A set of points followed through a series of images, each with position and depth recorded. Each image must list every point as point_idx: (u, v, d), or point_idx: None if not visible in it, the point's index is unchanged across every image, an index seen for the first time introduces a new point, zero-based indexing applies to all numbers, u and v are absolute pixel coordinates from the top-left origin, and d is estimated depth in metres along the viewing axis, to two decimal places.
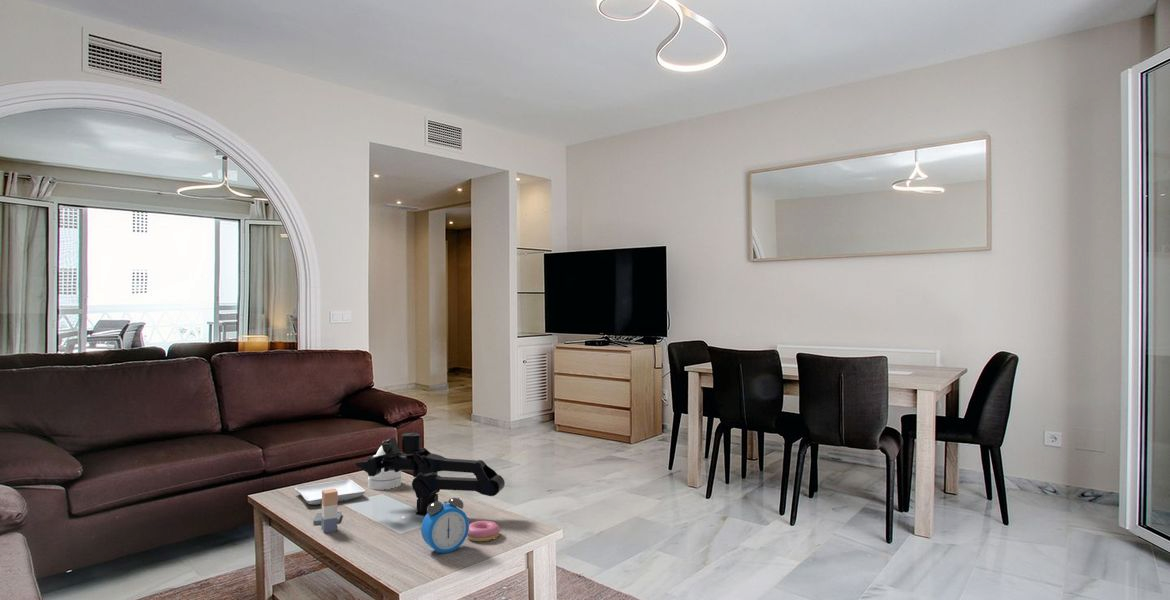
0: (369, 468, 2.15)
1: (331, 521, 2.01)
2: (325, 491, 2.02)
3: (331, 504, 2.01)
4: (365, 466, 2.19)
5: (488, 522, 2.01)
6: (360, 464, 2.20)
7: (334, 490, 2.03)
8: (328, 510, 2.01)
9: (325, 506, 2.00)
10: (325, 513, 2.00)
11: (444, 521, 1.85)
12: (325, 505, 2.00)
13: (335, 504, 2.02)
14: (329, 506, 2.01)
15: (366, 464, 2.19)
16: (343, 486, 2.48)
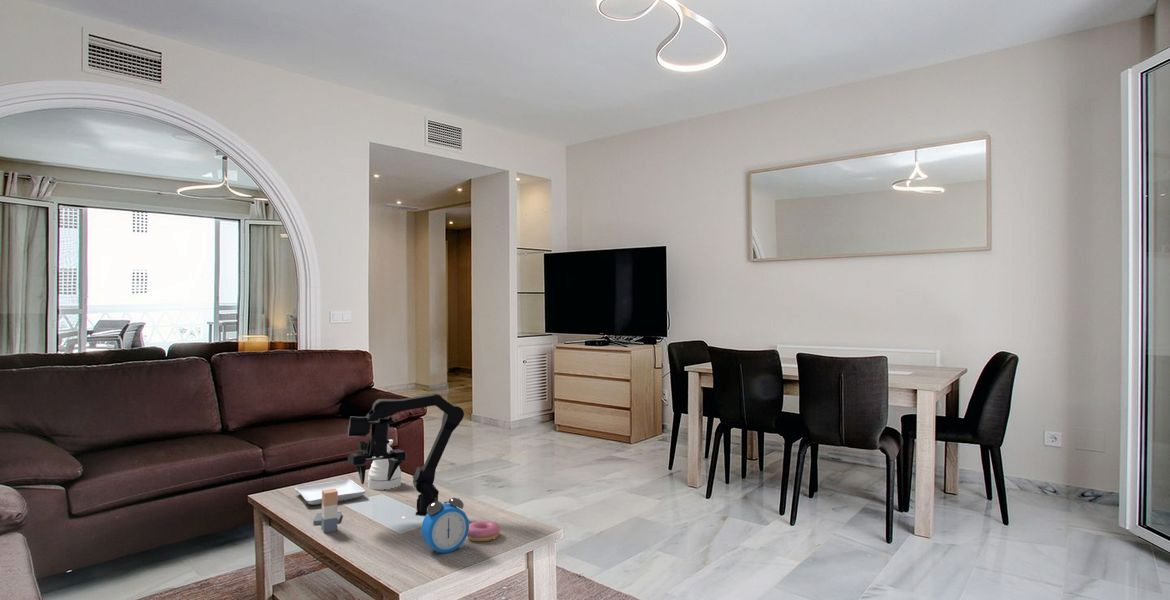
0: (350, 462, 2.07)
1: (331, 521, 2.01)
2: (325, 491, 2.02)
3: (331, 504, 2.01)
4: (360, 471, 2.10)
5: (488, 522, 2.01)
6: (360, 477, 2.10)
7: (334, 490, 2.03)
8: (328, 510, 2.01)
9: (325, 506, 2.00)
10: (325, 513, 2.00)
11: (444, 521, 1.85)
12: (325, 505, 2.00)
13: (335, 504, 2.02)
14: (329, 506, 2.01)
15: (359, 470, 2.10)
16: (343, 486, 2.48)
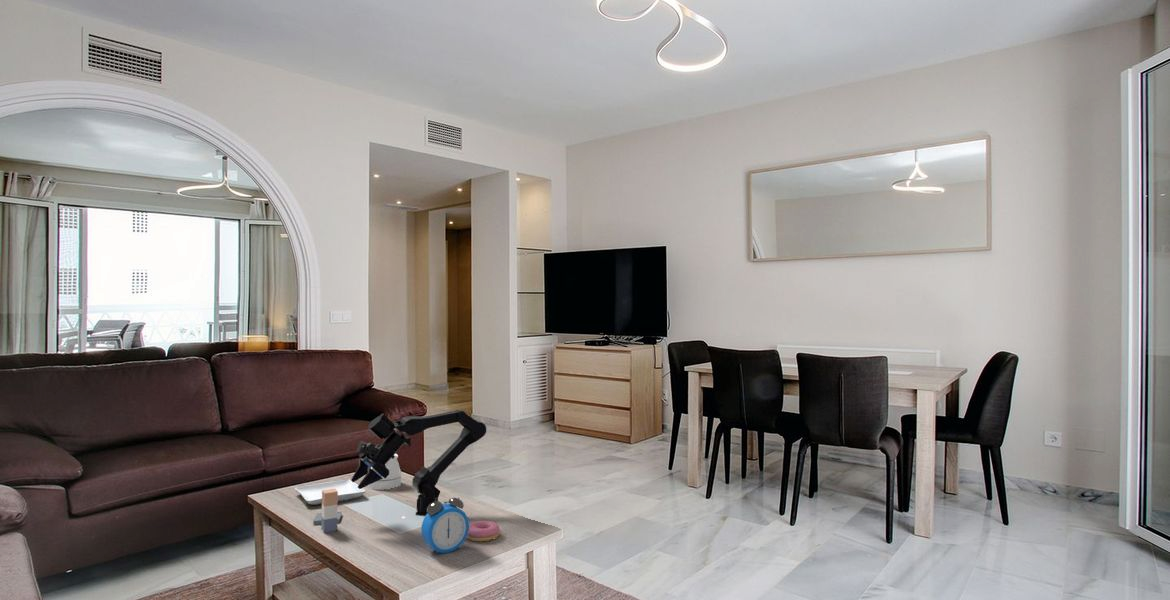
0: (380, 472, 2.03)
1: (331, 521, 2.01)
2: (325, 491, 2.02)
3: (331, 504, 2.01)
4: (370, 479, 2.04)
5: (488, 522, 2.01)
6: (363, 483, 2.03)
7: (334, 490, 2.03)
8: (328, 510, 2.01)
9: (325, 506, 2.00)
10: (325, 513, 2.00)
11: (444, 521, 1.85)
12: (325, 505, 2.00)
13: (335, 504, 2.02)
14: (329, 506, 2.01)
15: (369, 477, 2.04)
16: (343, 486, 2.48)
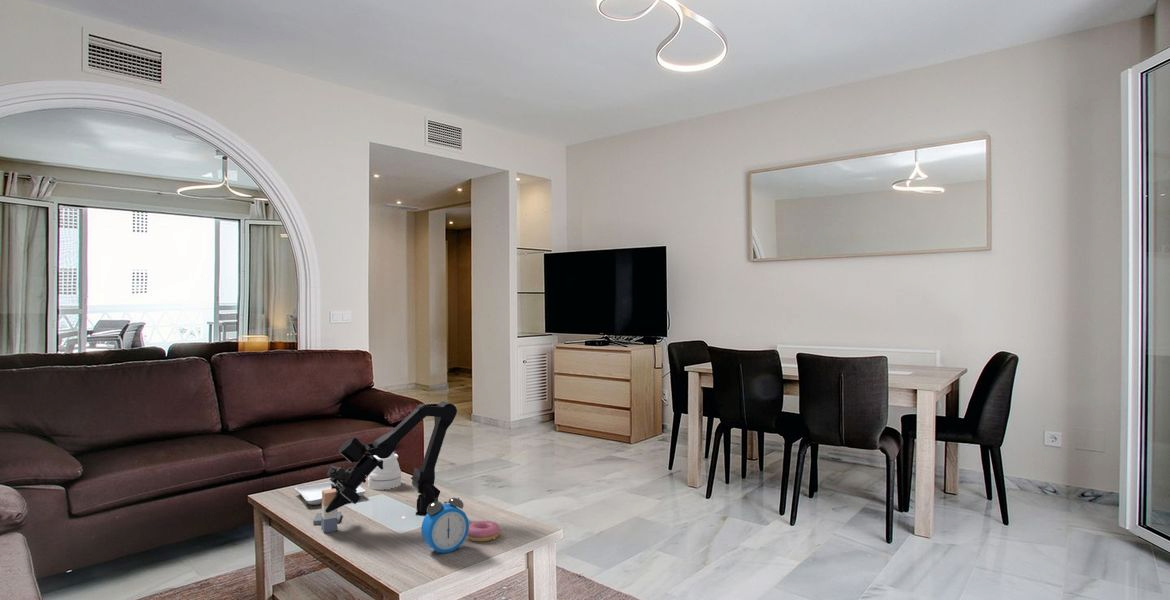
0: (350, 498, 1.97)
1: (331, 521, 2.01)
2: (325, 491, 2.02)
3: None
4: (338, 502, 2.01)
5: (488, 522, 2.01)
6: (331, 507, 2.00)
7: (334, 490, 2.03)
8: None
9: (325, 506, 2.00)
10: (325, 513, 2.00)
11: (444, 521, 1.85)
12: (325, 505, 2.00)
13: None
14: None
15: (337, 500, 2.01)
16: None
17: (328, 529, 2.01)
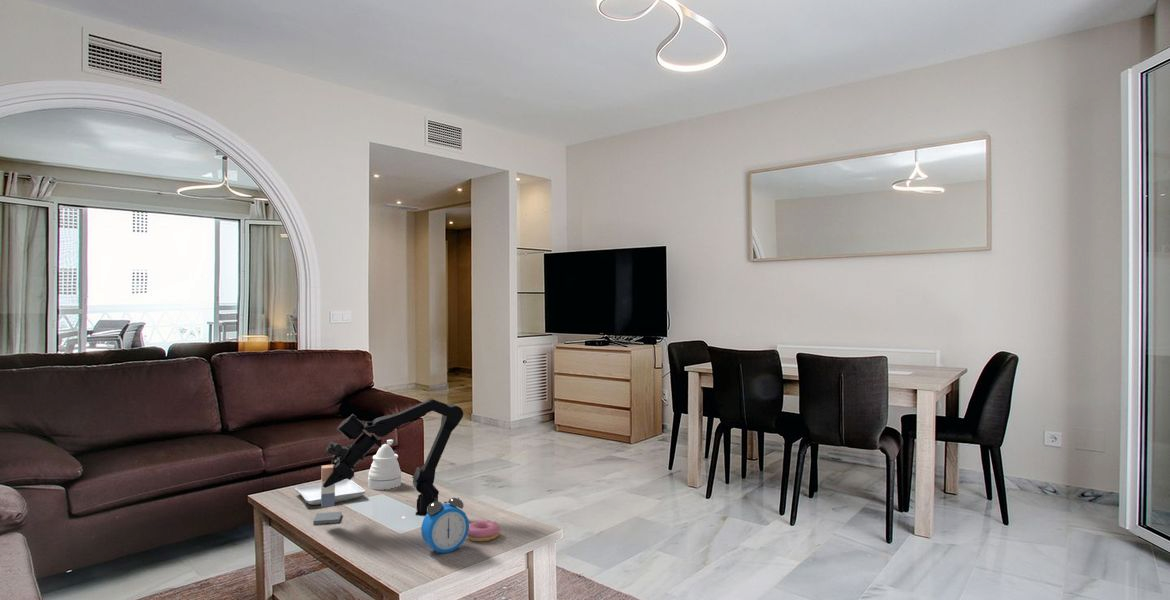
0: (344, 474, 2.00)
1: (329, 496, 2.05)
2: (324, 466, 2.06)
3: None
4: (335, 478, 2.05)
5: (488, 522, 2.01)
6: (328, 482, 2.04)
7: (332, 466, 2.07)
8: None
9: (323, 481, 2.04)
10: (323, 488, 2.04)
11: (444, 521, 1.85)
12: (323, 480, 2.04)
13: None
14: None
15: (334, 476, 2.04)
16: (343, 486, 2.48)
17: (326, 504, 2.05)
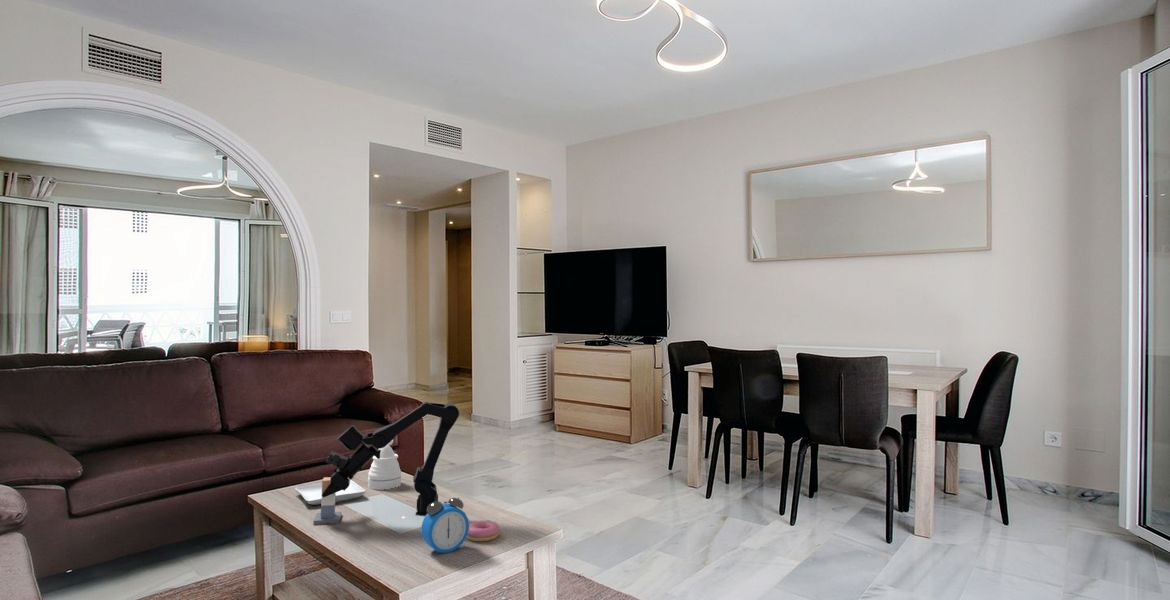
0: (339, 484, 2.04)
1: (328, 508, 2.10)
2: (325, 478, 2.12)
3: None
4: (333, 488, 2.08)
5: (488, 522, 2.01)
6: (326, 492, 2.08)
7: None
8: (325, 497, 2.10)
9: (322, 493, 2.10)
10: (322, 499, 2.10)
11: (444, 521, 1.85)
12: (322, 492, 2.10)
13: None
14: None
15: (332, 486, 2.08)
16: None
17: (325, 515, 2.10)
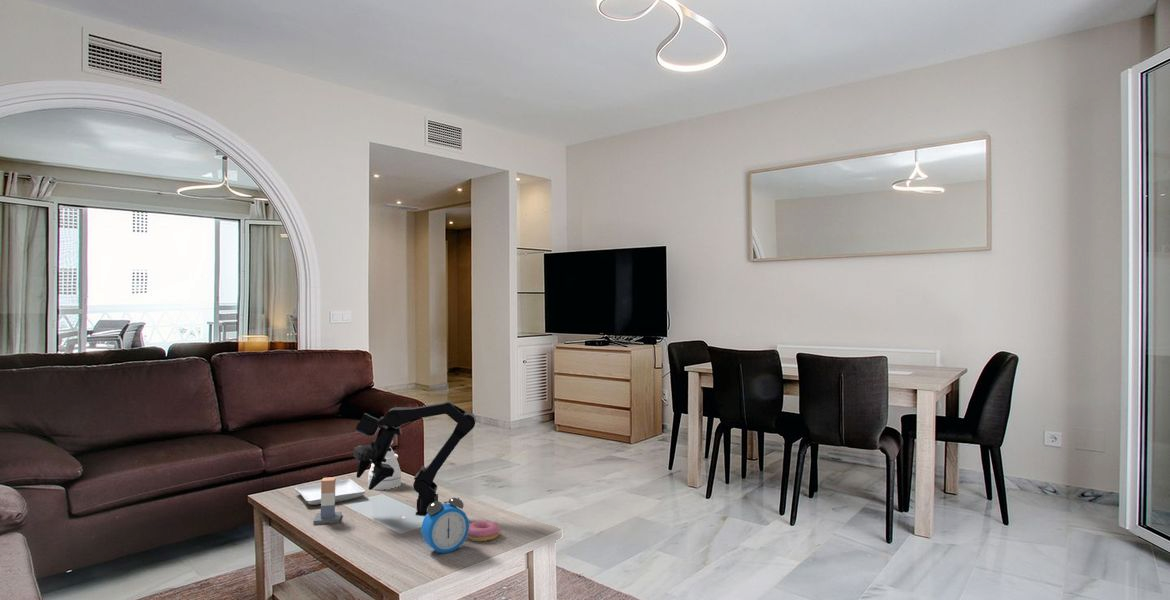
0: (386, 474, 2.12)
1: (328, 508, 2.10)
2: (324, 479, 2.12)
3: (328, 492, 2.10)
4: (377, 479, 2.14)
5: (488, 522, 2.01)
6: (373, 484, 2.14)
7: (332, 479, 2.12)
8: (324, 497, 2.10)
9: (322, 493, 2.10)
10: (322, 500, 2.10)
11: (444, 521, 1.85)
12: (322, 492, 2.10)
13: (331, 492, 2.11)
14: (325, 493, 2.10)
15: (376, 478, 2.14)
16: (343, 486, 2.48)
17: (325, 515, 2.10)
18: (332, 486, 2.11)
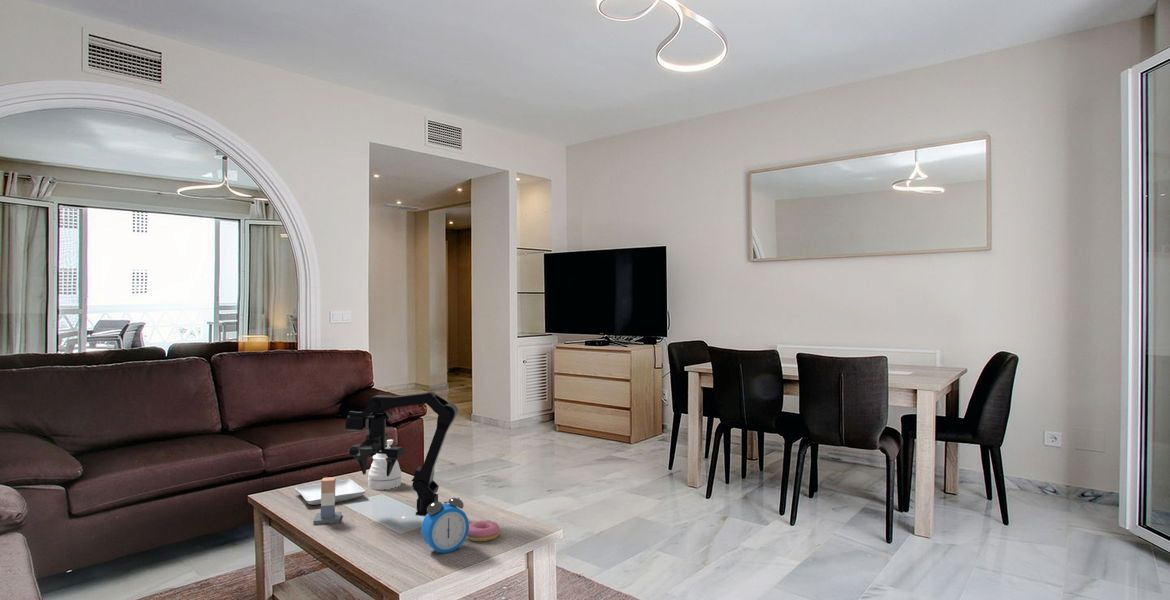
0: (401, 454, 2.19)
1: (328, 508, 2.10)
2: (324, 479, 2.12)
3: (328, 492, 2.10)
4: (392, 463, 2.20)
5: (488, 522, 2.01)
6: (390, 470, 2.19)
7: (332, 479, 2.12)
8: (324, 497, 2.10)
9: (322, 493, 2.10)
10: (322, 500, 2.10)
11: (444, 521, 1.85)
12: (322, 492, 2.10)
13: (331, 492, 2.11)
14: (325, 493, 2.10)
15: (391, 463, 2.19)
16: (343, 486, 2.48)
17: (325, 515, 2.10)
18: (332, 486, 2.11)
